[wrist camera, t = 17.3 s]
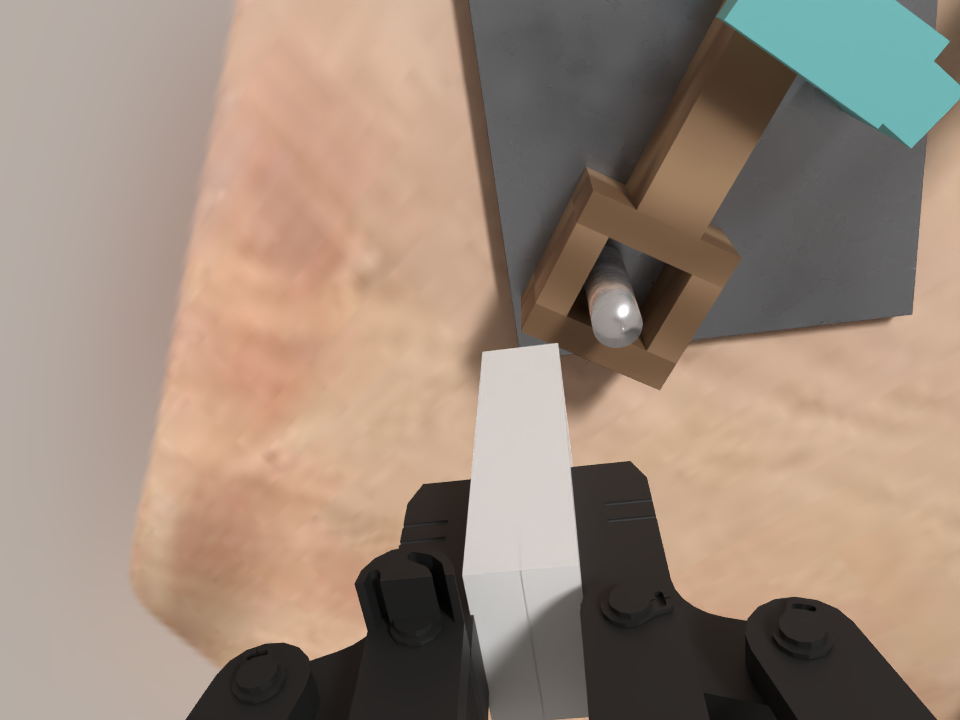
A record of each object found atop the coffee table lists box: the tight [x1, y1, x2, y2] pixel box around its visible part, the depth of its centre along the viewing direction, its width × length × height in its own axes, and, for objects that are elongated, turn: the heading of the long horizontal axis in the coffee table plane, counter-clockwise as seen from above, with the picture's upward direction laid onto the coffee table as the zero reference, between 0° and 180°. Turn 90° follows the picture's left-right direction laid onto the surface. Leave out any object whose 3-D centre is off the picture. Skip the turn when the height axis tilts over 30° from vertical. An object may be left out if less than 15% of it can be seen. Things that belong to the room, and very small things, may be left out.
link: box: [521, 0, 797, 390], centre depth 36 cm, size 18×7×4 cm, turn 156°
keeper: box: [716, 0, 960, 148], centre depth 33 cm, size 4×9×8 cm, turn 59°
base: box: [469, 0, 938, 355], centre depth 35 cm, size 19×19×8 cm
